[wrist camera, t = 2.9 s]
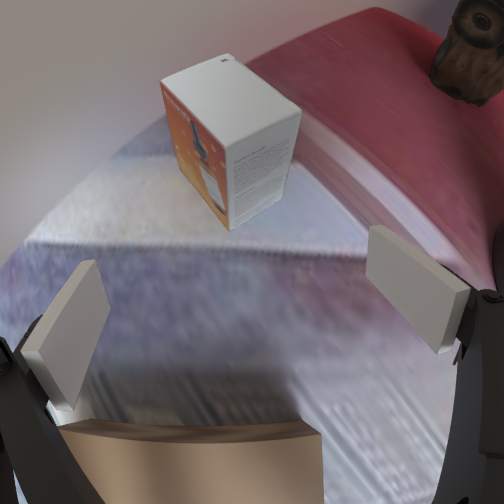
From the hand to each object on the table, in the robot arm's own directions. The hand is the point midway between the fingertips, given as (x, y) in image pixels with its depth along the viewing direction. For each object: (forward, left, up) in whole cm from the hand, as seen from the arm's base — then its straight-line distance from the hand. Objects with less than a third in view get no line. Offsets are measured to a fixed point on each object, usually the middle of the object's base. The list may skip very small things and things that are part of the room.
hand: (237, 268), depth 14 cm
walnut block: (+5, +15, -10) cm, 19 cm away
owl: (-39, -29, -9) cm, 49 cm away
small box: (-1, -11, -9) cm, 14 cm away
